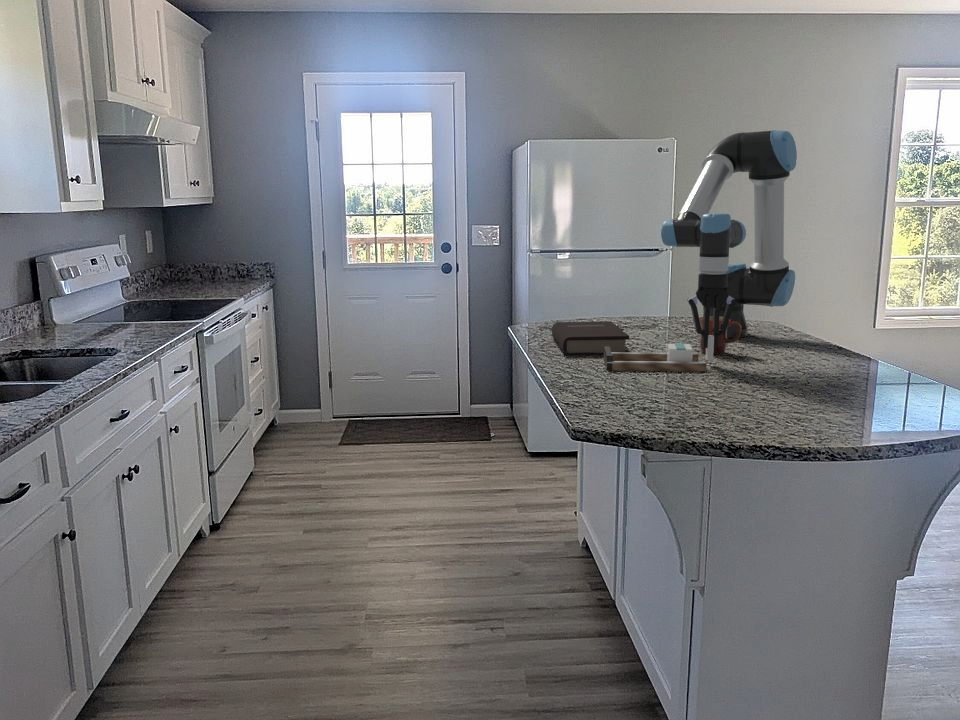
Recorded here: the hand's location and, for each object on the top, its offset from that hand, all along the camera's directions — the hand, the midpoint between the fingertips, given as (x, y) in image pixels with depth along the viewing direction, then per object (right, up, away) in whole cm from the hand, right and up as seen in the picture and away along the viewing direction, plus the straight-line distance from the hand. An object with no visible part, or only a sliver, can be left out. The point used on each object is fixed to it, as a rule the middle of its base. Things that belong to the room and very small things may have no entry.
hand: (709, 359), depth 214 cm
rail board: (-15, -2, +2) cm, 15 cm away
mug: (+8, +2, +17) cm, 19 cm away
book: (-29, +4, +31) cm, 42 cm away
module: (-8, -2, +1) cm, 8 cm away
